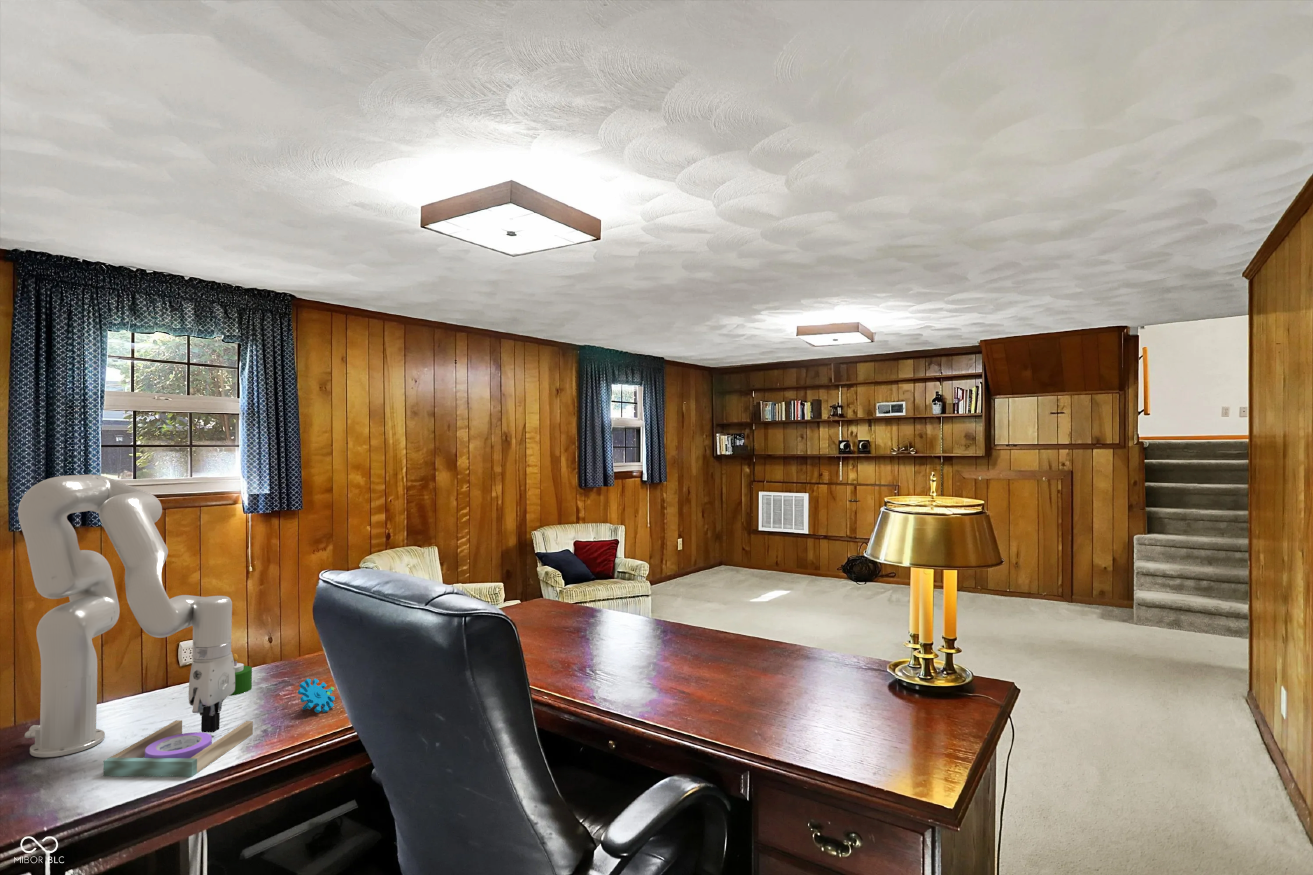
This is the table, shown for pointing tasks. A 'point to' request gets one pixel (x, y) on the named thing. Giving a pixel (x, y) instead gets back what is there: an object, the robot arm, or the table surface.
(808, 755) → the table surface
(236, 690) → the candle
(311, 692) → the gear
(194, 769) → the bay
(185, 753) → the masking tape
